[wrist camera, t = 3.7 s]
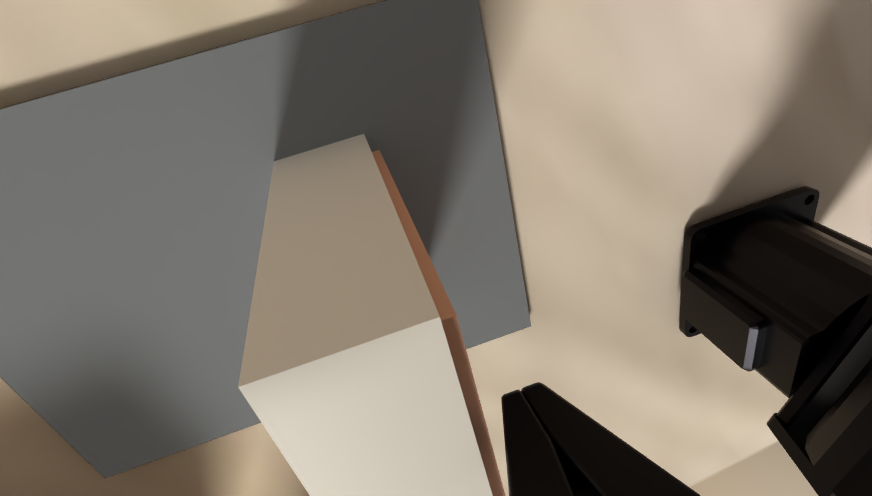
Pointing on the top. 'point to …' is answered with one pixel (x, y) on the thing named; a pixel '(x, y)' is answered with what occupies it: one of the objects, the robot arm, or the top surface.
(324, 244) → the ivory tile
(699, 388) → the top surface
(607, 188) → the top surface
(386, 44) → the rubber mat
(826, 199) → the top surface
